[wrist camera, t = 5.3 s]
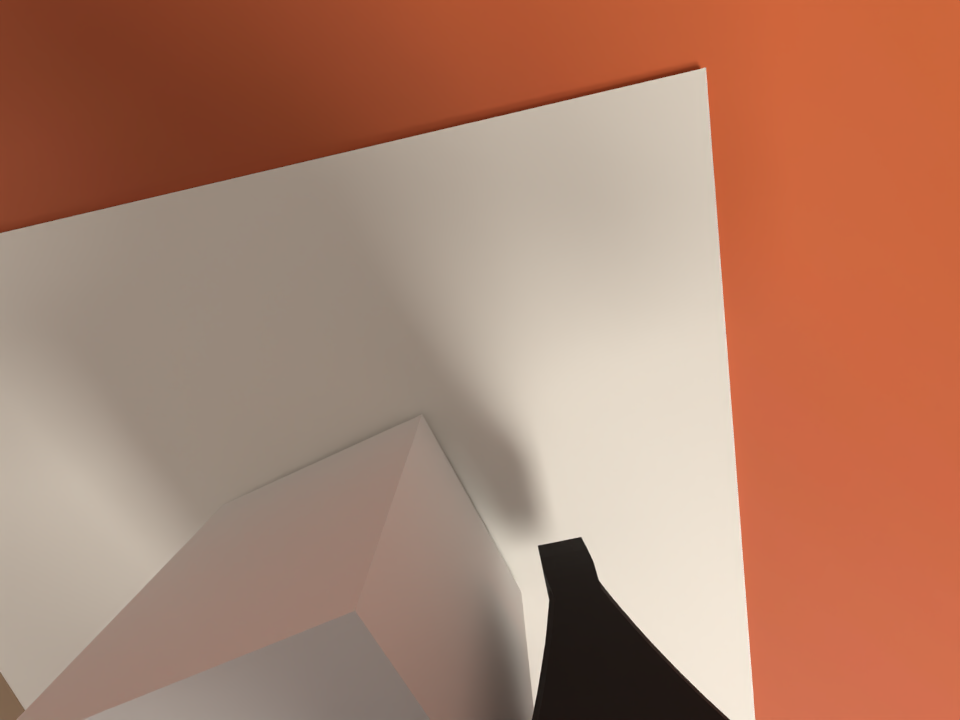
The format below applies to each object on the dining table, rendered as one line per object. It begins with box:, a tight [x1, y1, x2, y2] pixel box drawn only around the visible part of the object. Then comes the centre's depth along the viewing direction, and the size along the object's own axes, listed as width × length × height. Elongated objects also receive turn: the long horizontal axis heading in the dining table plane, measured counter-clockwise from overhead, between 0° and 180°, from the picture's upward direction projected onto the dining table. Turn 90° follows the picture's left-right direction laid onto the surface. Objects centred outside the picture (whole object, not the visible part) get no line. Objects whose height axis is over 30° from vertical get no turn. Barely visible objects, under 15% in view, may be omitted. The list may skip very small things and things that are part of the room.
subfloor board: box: [0, 68, 755, 720], centre depth 11 cm, size 18×28×1 cm, turn 102°
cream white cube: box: [16, 415, 534, 720], centre depth 8 cm, size 5×5×5 cm
